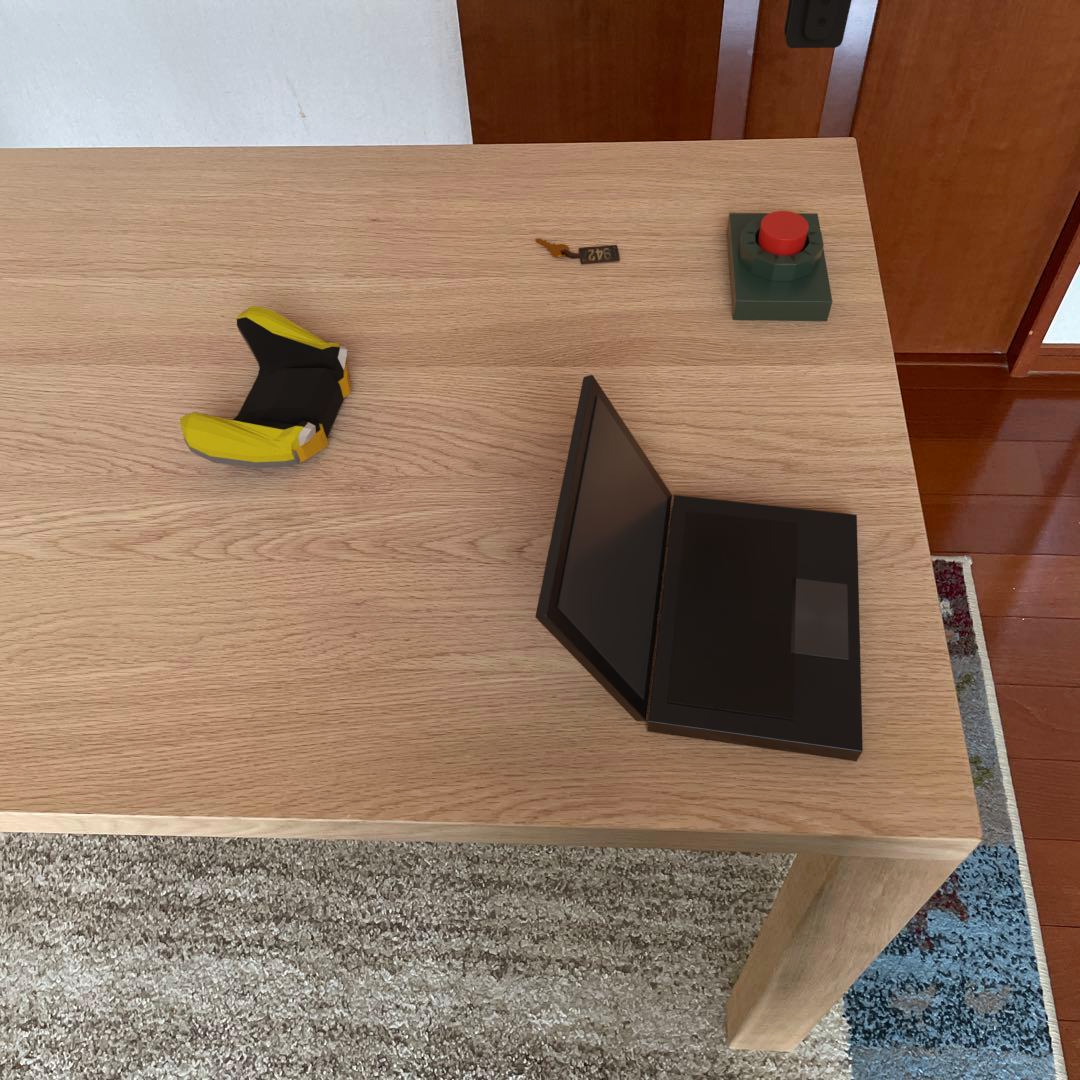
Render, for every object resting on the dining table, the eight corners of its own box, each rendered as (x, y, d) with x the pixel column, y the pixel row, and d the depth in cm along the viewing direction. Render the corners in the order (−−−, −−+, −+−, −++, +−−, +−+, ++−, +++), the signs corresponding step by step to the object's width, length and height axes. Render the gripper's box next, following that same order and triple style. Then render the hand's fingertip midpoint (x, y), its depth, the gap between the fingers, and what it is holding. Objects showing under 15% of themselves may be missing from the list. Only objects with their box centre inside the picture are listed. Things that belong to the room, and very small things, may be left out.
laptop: (851, 527, 68) (857, 513, 66) (856, 761, 58) (863, 751, 56) (672, 507, 69) (673, 493, 68) (646, 731, 59) (648, 720, 58)
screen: (594, 373, 59) (583, 376, 60) (547, 615, 49) (534, 617, 50) (673, 494, 68) (663, 496, 68) (648, 721, 58) (636, 722, 58)
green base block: (726, 232, 87) (731, 195, 84) (813, 233, 87) (821, 195, 83) (732, 320, 80) (739, 283, 77) (827, 321, 80) (837, 284, 77)
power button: (756, 227, 82) (759, 210, 80) (802, 227, 82) (806, 210, 80) (759, 256, 80) (762, 239, 78) (807, 257, 79) (811, 240, 78)
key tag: (622, 246, 87) (622, 241, 86) (618, 267, 85) (618, 262, 84) (535, 239, 88) (535, 234, 87) (530, 260, 86) (529, 254, 86)
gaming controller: (190, 478, 73) (310, 494, 71) (164, 431, 68) (292, 448, 67) (260, 345, 81) (369, 358, 80) (241, 295, 77) (356, 308, 75)
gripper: (1028, -349, 35) (896, 111, 50) (954, -437, 44) (860, -21, 59) (825, -341, 36) (755, 112, 51) (791, -430, 44) (740, -19, 59)
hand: (811, 40), depth 55 cm, fingers closed
